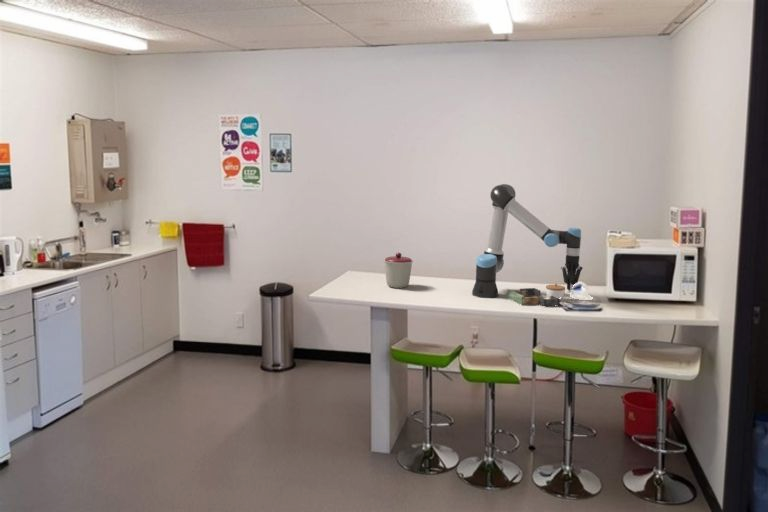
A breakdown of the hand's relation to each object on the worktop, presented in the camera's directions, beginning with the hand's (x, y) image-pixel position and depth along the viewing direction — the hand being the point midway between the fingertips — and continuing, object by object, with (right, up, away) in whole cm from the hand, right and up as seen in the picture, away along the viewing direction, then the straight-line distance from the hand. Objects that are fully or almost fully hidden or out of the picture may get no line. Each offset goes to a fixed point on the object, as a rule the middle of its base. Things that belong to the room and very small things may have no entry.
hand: (569, 295), depth 389 cm
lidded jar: (-9, -3, -2) cm, 10 cm away
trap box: (-24, -3, -6) cm, 25 cm away
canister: (-99, +4, +25) cm, 102 cm away
